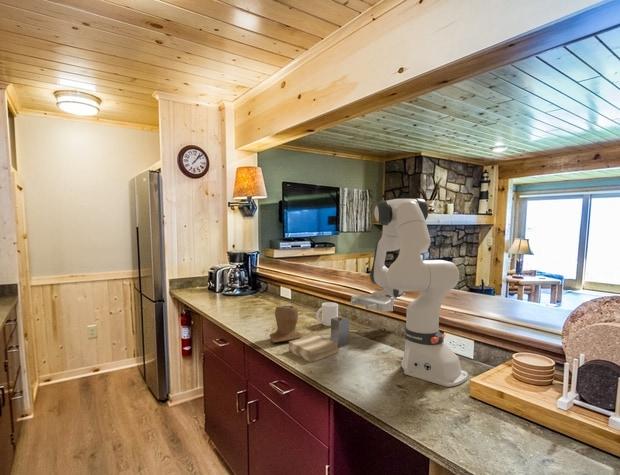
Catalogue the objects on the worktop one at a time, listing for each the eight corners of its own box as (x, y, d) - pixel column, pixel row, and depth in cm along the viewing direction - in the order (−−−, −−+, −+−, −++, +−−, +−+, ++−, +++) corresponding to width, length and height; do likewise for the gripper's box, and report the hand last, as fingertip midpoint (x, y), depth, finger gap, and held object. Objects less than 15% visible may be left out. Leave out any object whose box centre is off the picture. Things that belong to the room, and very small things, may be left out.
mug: (320, 328, 171) (320, 307, 171) (312, 323, 179) (312, 304, 178) (341, 325, 177) (341, 305, 176) (332, 320, 184) (332, 301, 183)
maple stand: (337, 353, 140) (337, 343, 140) (310, 362, 131) (310, 351, 131) (315, 343, 151) (315, 334, 150) (288, 351, 142) (288, 341, 142)
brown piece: (293, 332, 165) (293, 301, 164) (305, 340, 155) (305, 306, 154) (263, 337, 158) (263, 305, 157) (274, 346, 147) (273, 311, 147)
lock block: (348, 343, 150) (349, 315, 150) (338, 347, 146) (339, 318, 146) (340, 340, 154) (340, 313, 153) (330, 343, 150) (330, 315, 150)
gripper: (362, 290, 174) (343, 294, 165) (396, 298, 158) (376, 302, 149) (362, 302, 174) (342, 307, 166) (396, 311, 159) (376, 317, 150)
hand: (359, 305), depth 157 cm, fingers open, 8 cm apart
